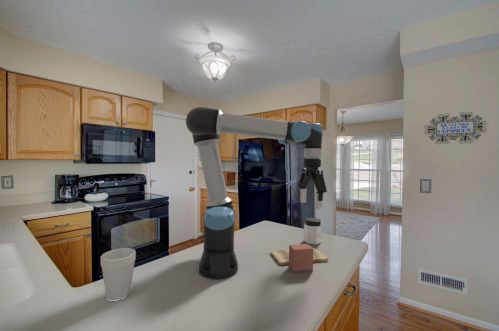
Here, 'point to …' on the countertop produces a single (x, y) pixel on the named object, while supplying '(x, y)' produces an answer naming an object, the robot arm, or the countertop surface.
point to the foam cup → (118, 272)
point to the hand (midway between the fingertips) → (310, 205)
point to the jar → (312, 231)
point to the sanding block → (300, 258)
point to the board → (283, 256)
